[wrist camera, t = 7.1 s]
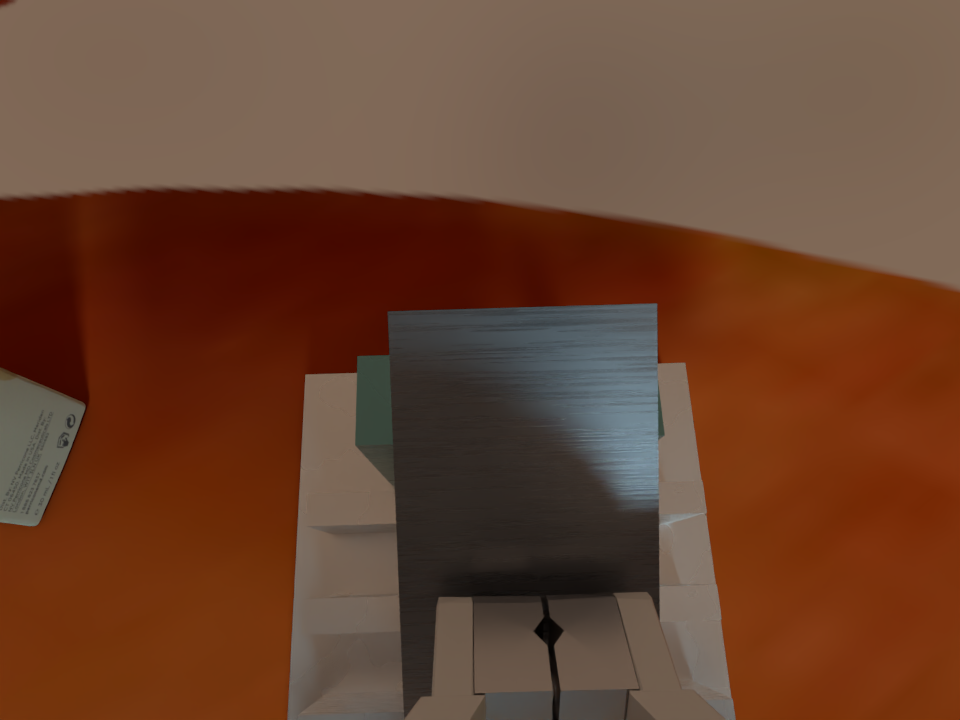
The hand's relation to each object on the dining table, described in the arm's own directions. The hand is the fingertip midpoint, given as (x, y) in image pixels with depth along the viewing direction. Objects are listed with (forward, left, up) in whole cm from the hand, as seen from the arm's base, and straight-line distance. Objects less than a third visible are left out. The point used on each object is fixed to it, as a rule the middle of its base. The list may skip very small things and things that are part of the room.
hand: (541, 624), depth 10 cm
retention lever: (-3, -8, -5) cm, 10 cm away
